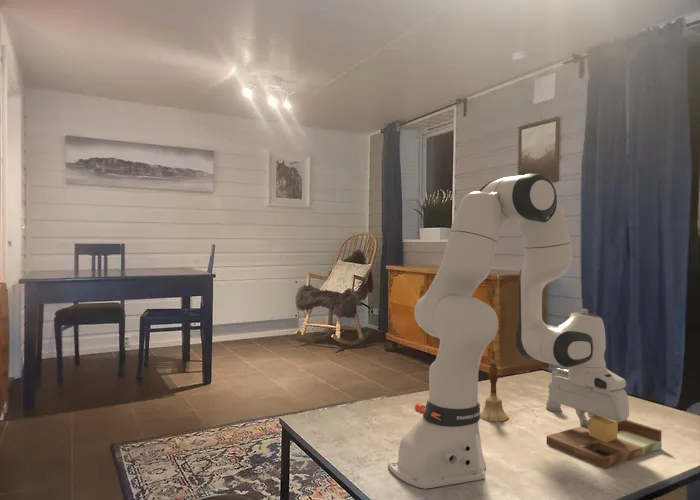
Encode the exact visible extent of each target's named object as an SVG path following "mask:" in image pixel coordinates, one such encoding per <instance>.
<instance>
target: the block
mask: <svg viewBox="0 0 700 500" xmlns="http://www.w3.org/2000/svg"><path fill="white" fill-rule="evenodd" d="M589 419H590V429H589V435H590V436H592V437H594V438H597V439H599V440H601V441H604V442H609V441H612V440H615V439H617V432H618V422H616V421H613V420H610V419H607V418H603V417H600V416H595V417H591V418H590V417H589Z"/></svg>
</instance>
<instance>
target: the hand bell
mask: <svg viewBox="0 0 700 500" xmlns="http://www.w3.org/2000/svg"><path fill="white" fill-rule="evenodd" d="M498 378H499V371H498V367H497V364H496V362H491V363H490V366H489V369H488V379H489V382H490V396H488V397H486V398H485V402H484V407H483V409H482V411H480V419H482V420H485V421H488V422H495V423H496V422H497V423H498V422H500V423H501V422H505V421H506V422H507V421H508V420H509V419H510V417H509V415H508V414H507V413H506V412H505V410H504V406H503V401H502V399H501V398H500V397H499V396H497V395H498V394H497V382H498Z"/></svg>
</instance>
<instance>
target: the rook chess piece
mask: <svg viewBox="0 0 700 500" xmlns="http://www.w3.org/2000/svg"><path fill="white" fill-rule="evenodd" d="M547 387H548V392H549V393H548V399H547V401H546V403H545V408H546V410H547V411H549V412H559V411H561V410H562V404H559V403H556V402H553V401H552V400H551V398H550V388H551V382H548V385H547Z"/></svg>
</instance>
